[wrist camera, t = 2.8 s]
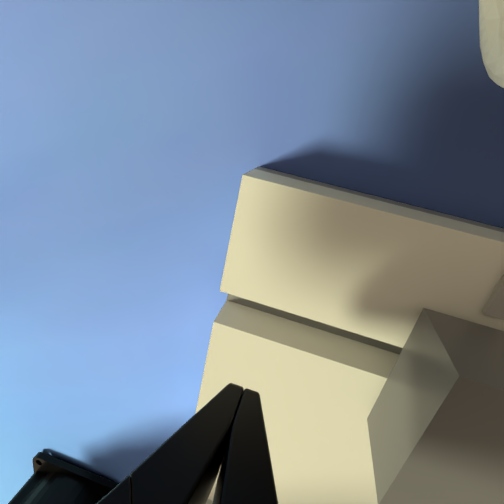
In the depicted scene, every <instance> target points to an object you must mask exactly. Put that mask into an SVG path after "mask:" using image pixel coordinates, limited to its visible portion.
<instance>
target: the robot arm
mask: <svg viewBox="0 0 504 504" xmlns="http://www.w3.org/2000/svg"><path fill="white" fill-rule="evenodd" d="M220 467H221V468H220ZM33 468H34V474H33V475H32V477H31V478H30V479H29V480H28V481H27V482H26V484H25V485H24V486H23V487H22V488H21V489H20V490H19V492H18V493H17V494H16V495H15V496H14V497H13V499H12V500H11V501H10V502H9V503H8V504H206V502H207V499H208V497H209V495H210V493H211V490H212V488H213V486H214V483H215V481H216V478H217V476H218V479H217V484H216V488H215V493H214V498H213V503H212V504H278V499H277V493H276V487H275V481H274V475H273V469H272V463H271V458H270V452H269V446H268V440H267V434H266V428H265V422H264V417H263V411H262V405H261V399H260V394H259V393H258V392H256V391H254V390H251V389H248V388H246V389H244V388H243V387H242V386H239V385H236V384H233V383H229V384H228V385H226V386H225V387H224V388H223V389H222V390H221V391H220V392H219V393H218V394H217V395H216V396H214V397H213V398H212V399H211V400H210V401H209V402H208V403H207V404H206V405H205V406H204V407H202V408H201V409H200V410H199V411H198V412H197V413H196V414H195V415H194V416H193V417H192V418H190V419H189V420H188V421H187V422H186V423H185V424H184V425H183V426H182V427H181V428H180V429H178V430H177V431H176V432H175V433H174V434H173V435H172V436H171V437H170V438H169V439H168V440H167V441H165V442H164V443H163V444H162V445H161V446H160V447H159V448H158V449H157V450H156V451H155V452H153V453H152V454H151V455H150V456H149V457H148V458H147V459H146V460H145V461H144V462H143V463H141V464H140V465H139V466H138V467H137V468H136V469H135V470H134V471H133V472H132V473H131V475H130V476H127V477H126V478H125V479H124V480H123V481H122V482H120V483H119V484H118V485H117V484H116V483H115V482H113V481H111V480H108V479H106V478H103V477H101V476H98V475H96V474H94V473H91V472H89V471H86V470H84V469H81V468H79V467H77V466H74V465H72V464H69V463H67V462H64V461H62V460H60V459H57V458H55V457H52V456H50V455H47V454H45V453H42V452H39V453H37V455H36V456H35V457H34V458H33ZM219 470H220V471H219ZM218 473H219V475H218Z"/></svg>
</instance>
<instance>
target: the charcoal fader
mask: <svg viewBox="0 0 504 504" xmlns="http://www.w3.org/2000/svg"><path fill="white" fill-rule="evenodd" d="M367 423H368V431H369V439H370V446H371V454H372V462H373V470H374V478H375V486H376V493H377V501H378V504H504V331H501V330H498V329H495V328H491V327H488V326H484V325H481V324H478V323H474V322H471V321H467V320H464V319H460V318H457V317H454V316H450V315H447V314H443V313H440V312H437V311H433V310H430V309H426V308H423V310H422V312H421V314H420V316H419V318H418V320H417V321H416V323H415V325H414V327H413V329H412V331H411V333H410V335H409V337H408V339H407V341H406V343H405V345H404V347H403V349H402V351H401V353H400V355H399V357H398V359H397V361H396V363H395V365H394V367H393V369H392V371H391V373H390V374H389V376H388V378H387V380H386V382H385V384H384V386H383V388H382V390H381V392H380V394H379V396H378V398H377V400H376V402H375V404H374V406H373V408H372V410H371V412H370V414H369V416H368V418H367Z"/></svg>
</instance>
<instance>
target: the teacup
mask: <svg viewBox="0 0 504 504" xmlns="http://www.w3.org/2000/svg"><path fill="white" fill-rule="evenodd" d="M479 35H480V49H481V54H482V59H483V63H484V66H485V68H486V70H487V73H488V75H489V77H490V78H491V79H492V80H493V81H494V82H495V83H496V84H497V85H499V86H501V87H502V88H504V0H479Z"/></svg>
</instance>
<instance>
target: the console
mask: <svg viewBox="0 0 504 504" xmlns="http://www.w3.org/2000/svg"><path fill="white" fill-rule="evenodd" d="M220 291H221V292H225V293H228V297H227V301H226V302H225V304H224V306H223V307H222V309H221V311H220V312H219V314H218V315H217V317H216V319H215V320H214V323H213V328H212V333H211V338H210V343H209V348H208V353H207V358H206V363H205V368H204V373H203V378H202V383H201V388H200V393H199V399H198V404H197V409H196V413H197V412H198V411H199V410H200V409H201V408H202V407H204V406H205V405H206V404H207V403H208V402H209V401H210V400H211V399H212V398H213V397H214V396H216V395H217V394H218V393H219V392H220V391H221V390H222V389H223V388H224V387H225V386H226V385H228V384H229V383H233V384H236V385H239V386H242V387H243V388H244V389H246V388H248V389H251V390H254V391H256V392H258V393H259V394H260V399H261V405H262V411H263V417H264V422H265V428H266V434H267V440H268V446H269V452H270V458H271V463H272V469H273V475H274V481H275V487H276V493H277V499H278V504H378V501H377V493H376V486H375V478H374V470H373V462H372V454H371V446H370V439H369V431H368V423H367V418H368V416H369V414H370V412H371V410H372V408H373V406H374V404H375V402H376V400H377V398H378V396H379V394H380V392H381V390H382V388H383V386H384V384H385V382H386V380H387V378H388V376H389V374H390V373H391V371H392V369H393V367H394V365H395V363H396V361H397V359H398V357H399V355H400V353H401V351H402V349H403V347H404V345H405V343H406V341H407V339H408V337H409V335H410V333H411V331H412V329H413V327H414V325H415V323H416V321H417V320H418V318H419V316H420V314H421V312H422V310H423V308H426V309H430V310H433V311H437V312H440V313H443V314H447V315H450V316H454V317H457V318H460V319H464V320H467V321H471V322H474V323H478V324H481V325H484V326H488V327H491V328H495V329H498V330H501V331H504V229H503V228H499V227H495V226H491V225H487V224H483V223H479V222H476V221H472V220H468V219H464V218H460V217H456V216H452V215H448V214H444V213H440V212H436V211H432V210H428V209H424V208H420V207H417V206H413V205H409V204H405V203H401V202H397V201H393V200H389V199H385V198H381V197H377V196H373V195H369V194H365V193H361V192H357V191H354V190H350V189H346V188H342V187H338V186H334V185H330V184H326V183H322V182H318V181H314V180H310V179H306V178H302V177H298V176H294V175H291V174H287V173H283V172H279V171H275V170H271V169H267V168H263V167H257V168H255V169H253V170H251V171H249V172H247V173H245V174H243V176H242V181H241V186H240V191H239V196H238V201H237V206H236V211H235V216H234V221H233V226H232V231H231V237H230V242H229V247H228V252H227V257H226V262H225V267H224V272H223V277H222V282H221V287H220ZM220 468H221V467H220ZM219 471H220V470H219ZM218 475H219V473H218ZM217 479H218V476H217V478H216V481H215V483H214V486H213V488H212V490H211V493H210V495H209V497H208V499H207V502H206V504H212V503H213V498H214V493H215V488H216V484H217Z"/></svg>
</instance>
